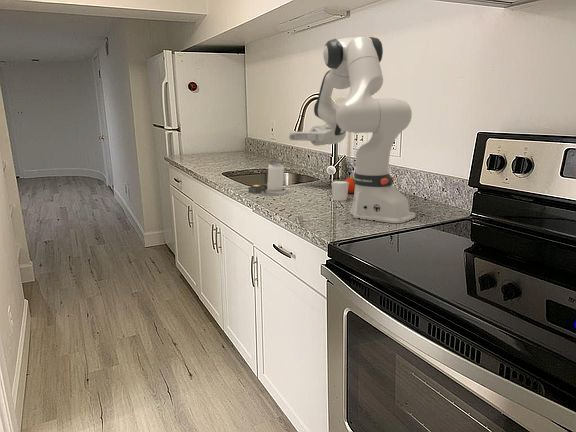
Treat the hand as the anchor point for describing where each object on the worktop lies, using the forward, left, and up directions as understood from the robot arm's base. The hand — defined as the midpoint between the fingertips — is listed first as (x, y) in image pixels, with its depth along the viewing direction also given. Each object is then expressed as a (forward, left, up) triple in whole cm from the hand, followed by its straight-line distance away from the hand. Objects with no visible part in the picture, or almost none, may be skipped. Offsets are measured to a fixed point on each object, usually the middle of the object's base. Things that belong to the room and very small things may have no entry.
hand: (298, 137), depth 194 cm
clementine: (-20, -11, -24) cm, 33 cm away
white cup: (-23, +2, -24) cm, 33 cm away
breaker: (+9, +17, -22) cm, 29 cm away
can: (+3, +12, -22) cm, 25 cm away
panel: (+5, +14, -24) cm, 28 cm away
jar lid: (+2, +12, -22) cm, 26 cm away
